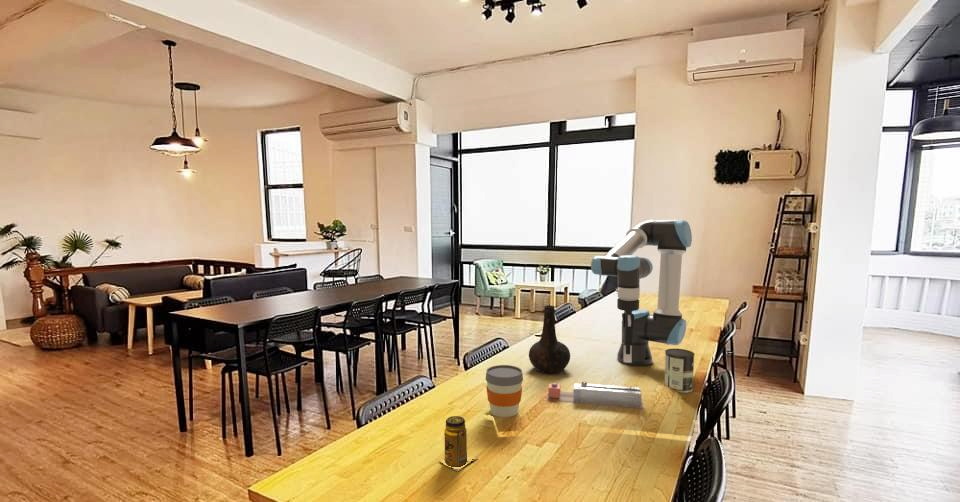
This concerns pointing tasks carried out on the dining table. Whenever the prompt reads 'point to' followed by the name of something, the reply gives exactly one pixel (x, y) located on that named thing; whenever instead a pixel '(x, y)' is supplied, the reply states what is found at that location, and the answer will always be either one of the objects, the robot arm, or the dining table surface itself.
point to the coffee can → (679, 369)
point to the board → (569, 398)
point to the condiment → (456, 442)
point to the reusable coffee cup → (504, 389)
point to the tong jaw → (611, 387)
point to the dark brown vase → (549, 347)
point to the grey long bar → (606, 396)
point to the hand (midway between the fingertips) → (627, 361)
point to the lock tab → (554, 390)
